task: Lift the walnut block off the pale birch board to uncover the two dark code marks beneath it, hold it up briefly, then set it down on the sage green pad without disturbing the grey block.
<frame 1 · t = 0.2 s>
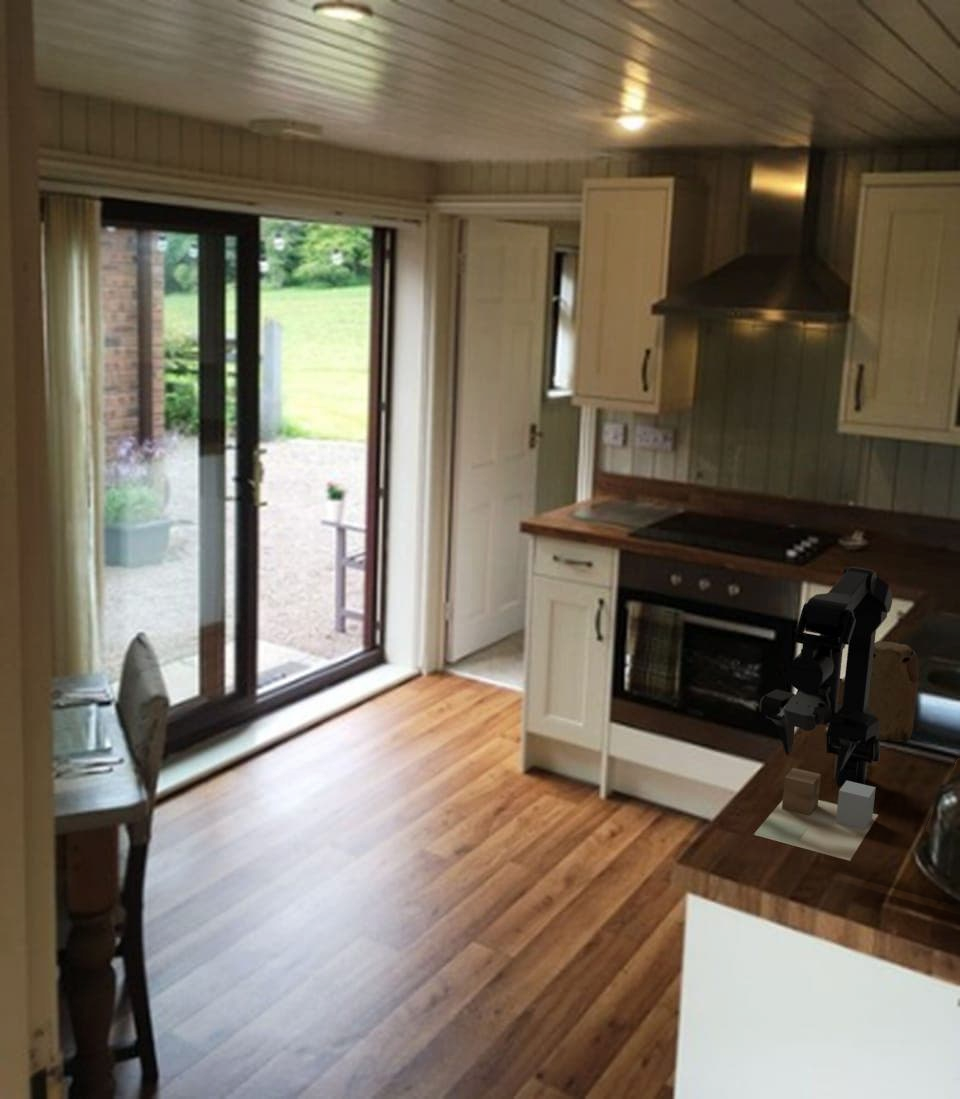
hand: (813, 762, 190), 14 cm above the worktop, tool pointing down, fingers open, 9 cm apart
walnut block: (799, 807, 203), point 1 cm above the worktop, touching code board
code board: (816, 829, 197), on the worktop
block: (884, 736, 240), on the worktop
grey block: (854, 820, 198), point 1 cm above the worktop, touching code board
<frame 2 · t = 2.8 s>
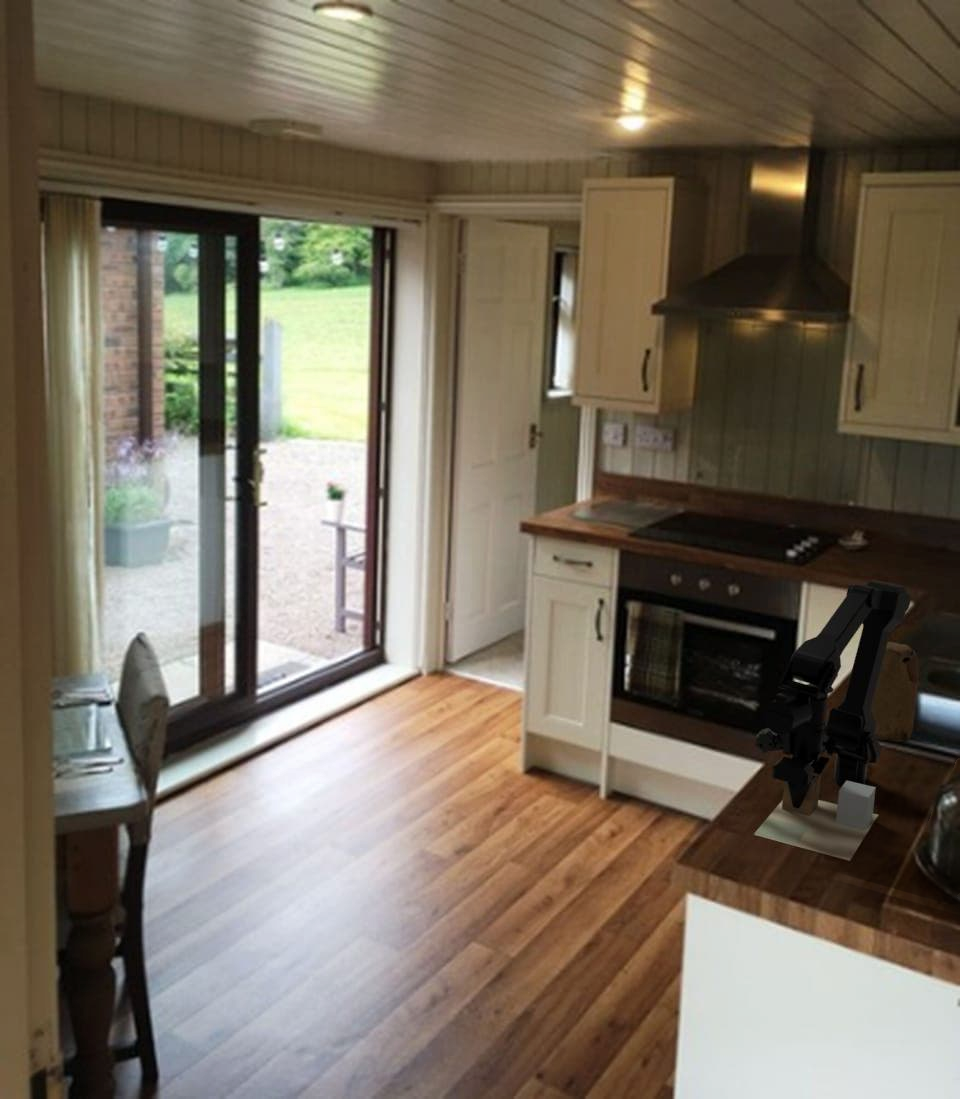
hand: (800, 802, 203), 2 cm above the worktop, tool pointing down, fingers closed on walnut block, 5 cm apart
walnut block: (799, 806, 203), point 1 cm above the worktop, touching code board, gripper
everything else where it was.
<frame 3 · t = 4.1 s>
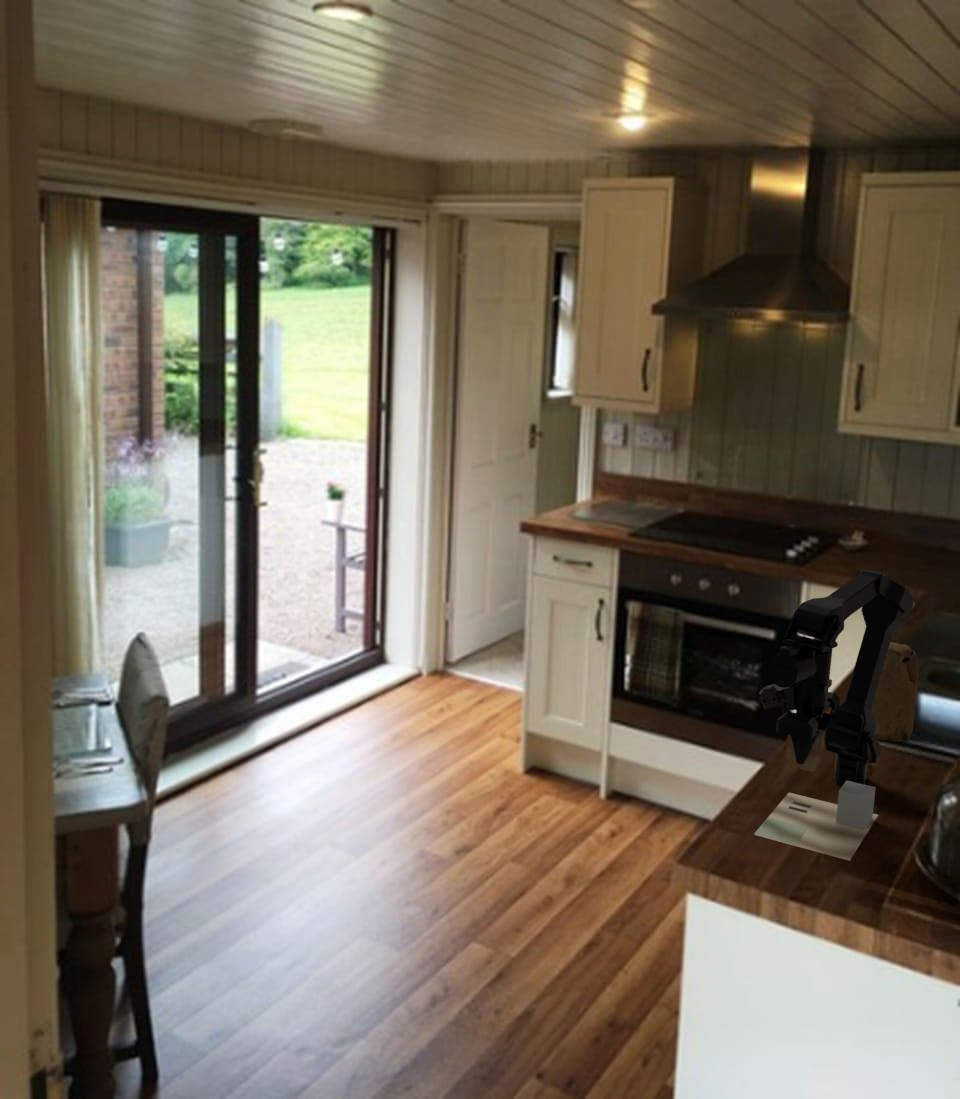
hand: (804, 758, 201), 10 cm above the worktop, tool pointing down, fingers closed on walnut block, 5 cm apart
walnut block: (803, 763, 201), point 9 cm above the worktop, touching gripper
everything else where it was.
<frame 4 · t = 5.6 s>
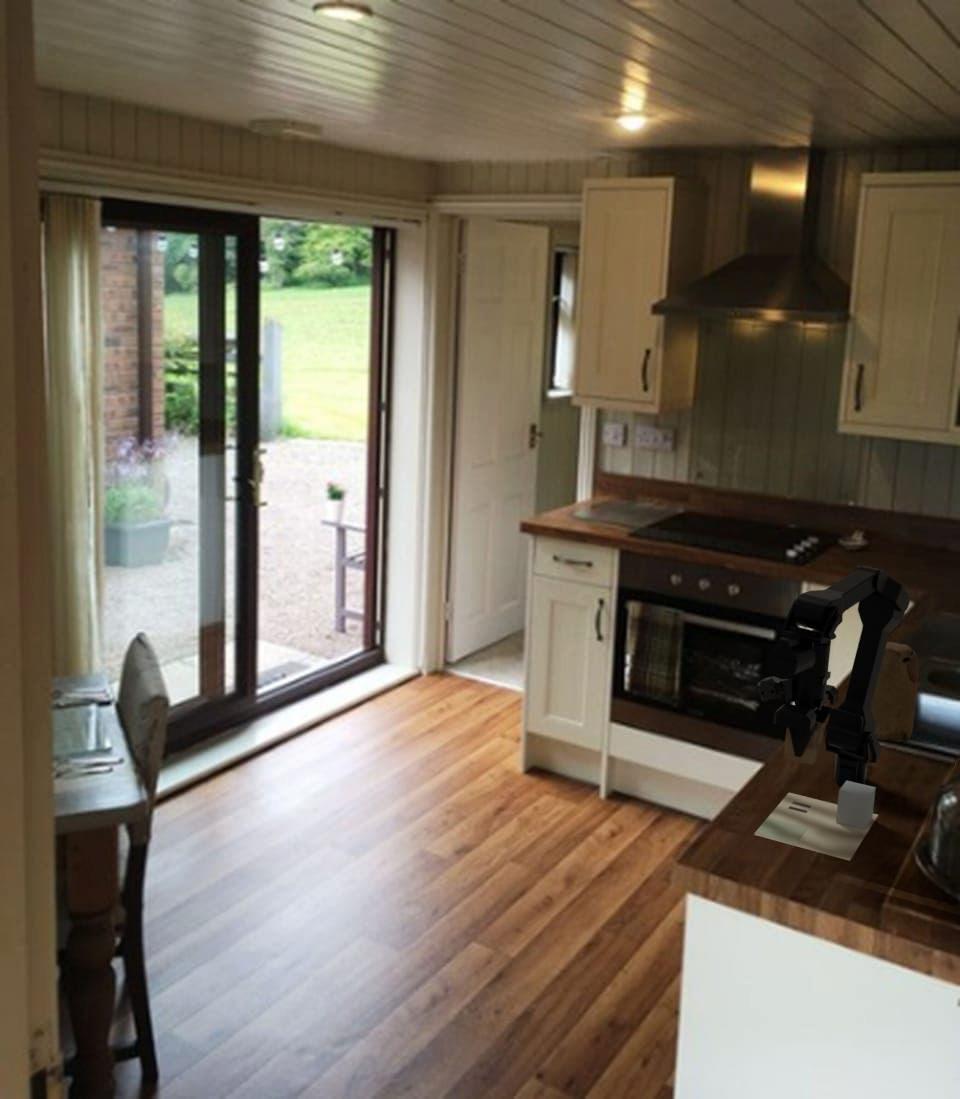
hand: (802, 751, 199), 12 cm above the worktop, tool pointing down, fingers closed on walnut block, 5 cm apart
walnut block: (801, 756, 199), point 11 cm above the worktop, touching gripper
everything else where it was.
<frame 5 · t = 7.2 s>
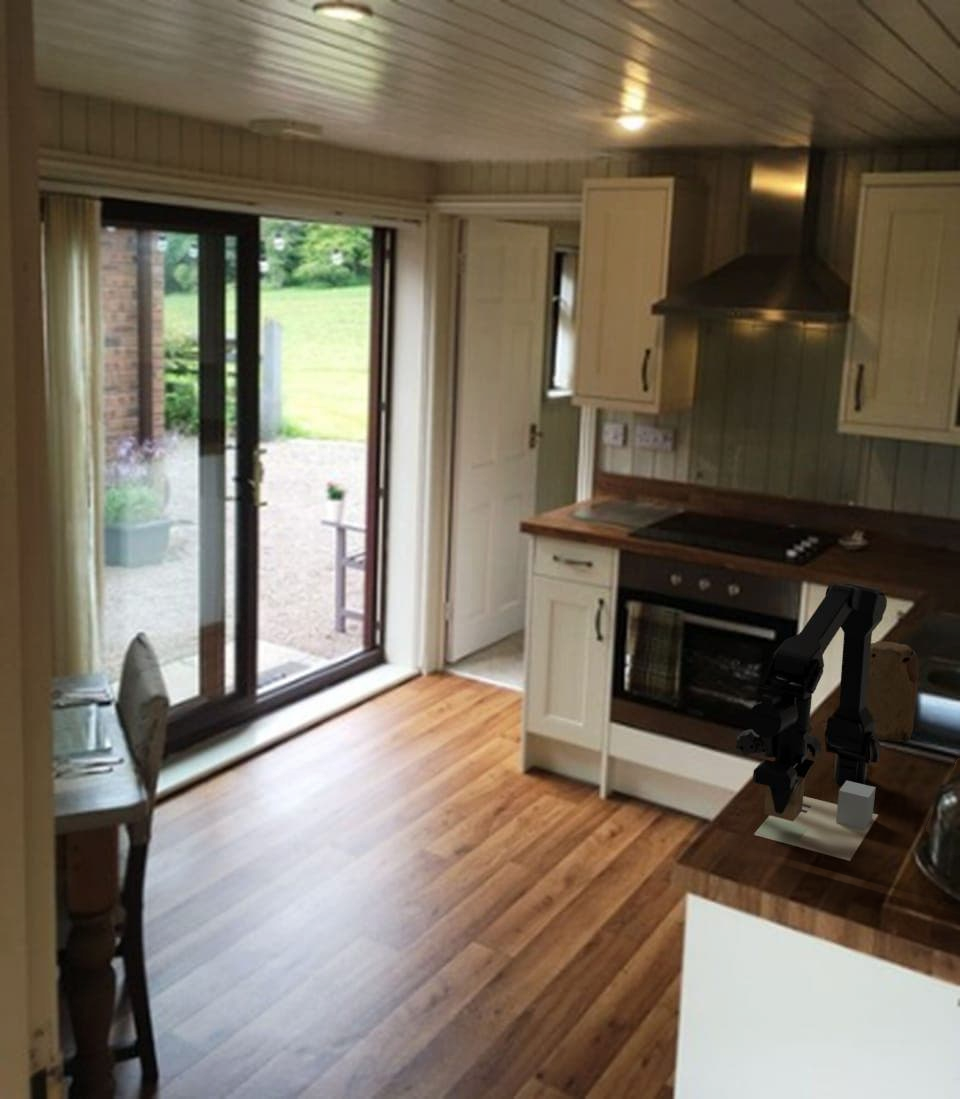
hand: (783, 807, 193), 5 cm above the worktop, tool pointing down, fingers closed on walnut block, 5 cm apart
walnut block: (782, 812, 193), point 4 cm above the worktop, touching gripper
everything else where it was.
when the fingers open (3 cm above the worktop, at t = 8.3 s): walnut block drops 1 cm, resting on code board.
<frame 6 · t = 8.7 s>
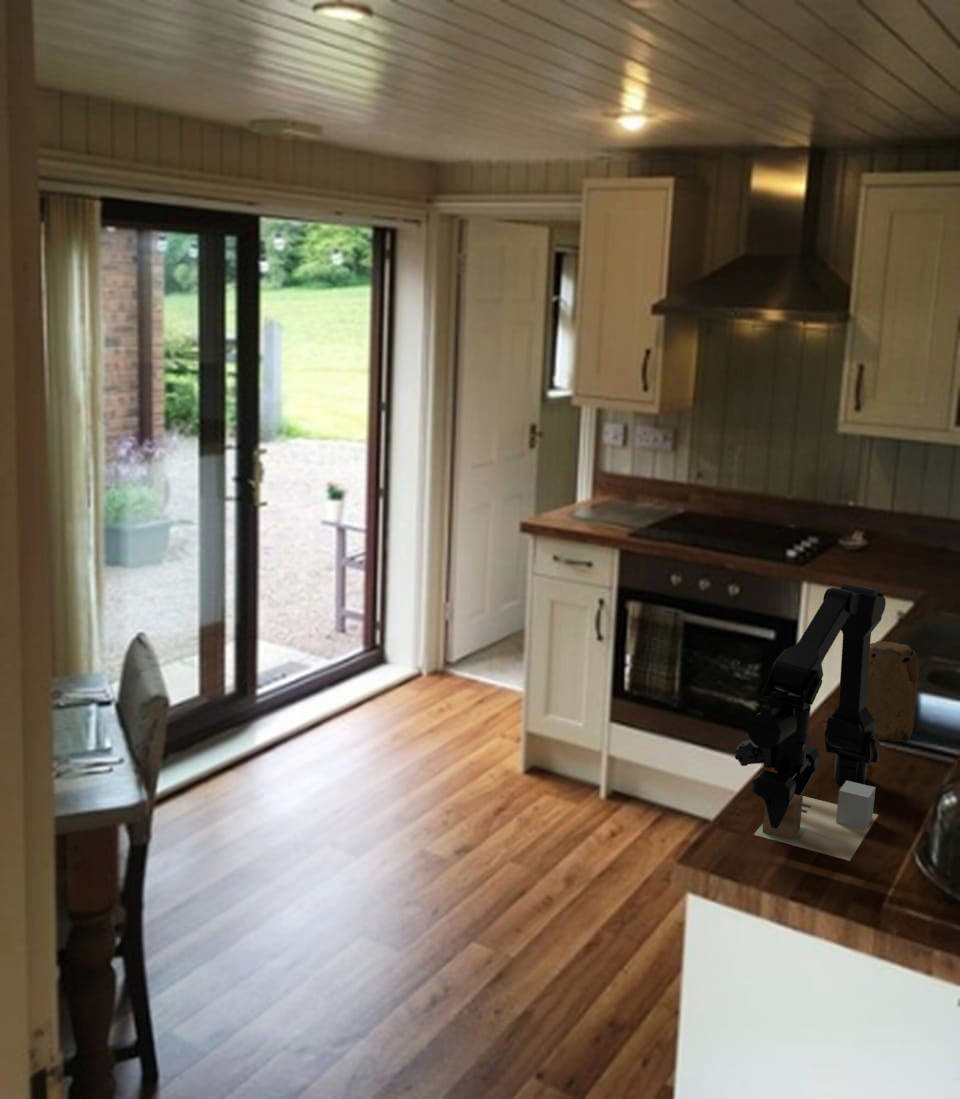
hand: (782, 817, 193), 3 cm above the worktop, tool pointing down, fingers open, 9 cm apart
walnut block: (781, 830, 194), point 1 cm above the worktop, touching code board
everything else where it was.
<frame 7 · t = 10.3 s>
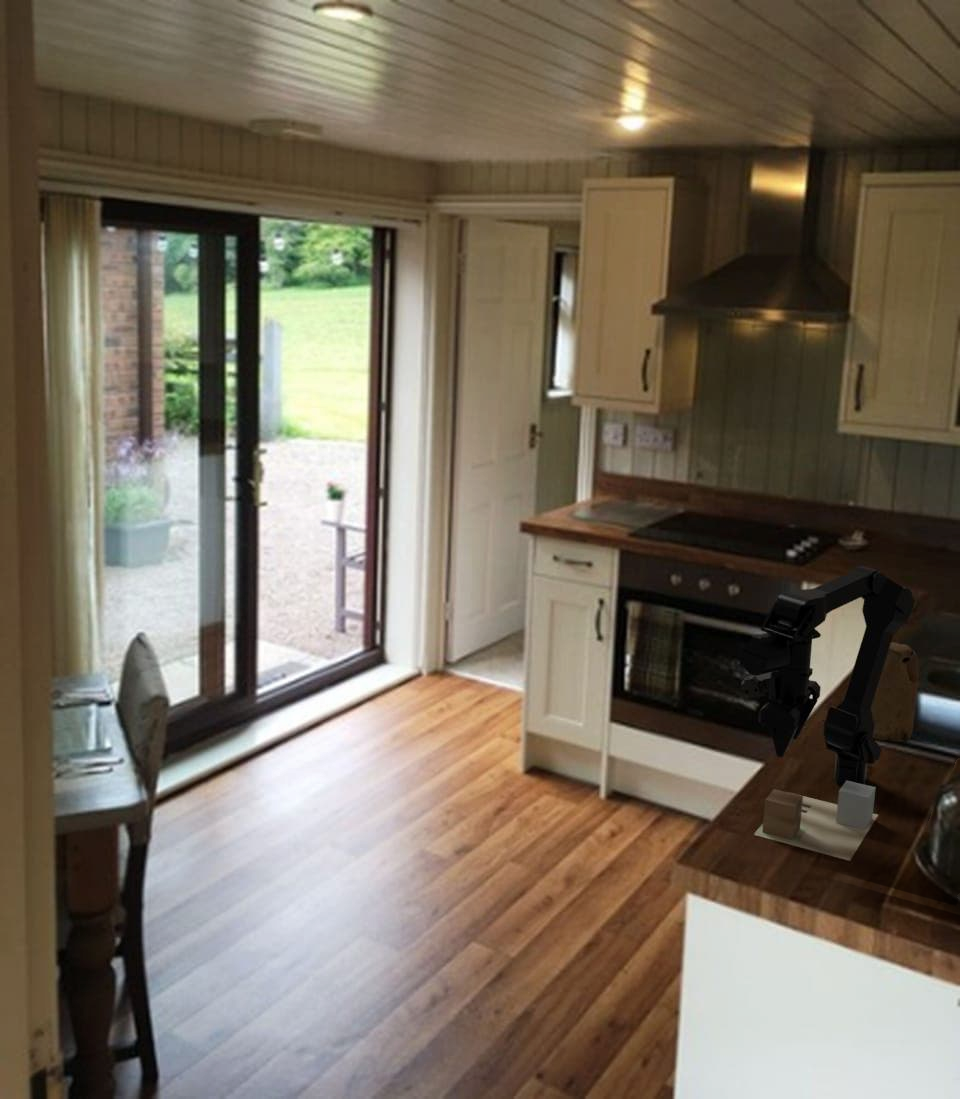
hand: (786, 747, 202), 12 cm above the worktop, tool pointing down, fingers open, 9 cm apart
nothing on the worktop moved.
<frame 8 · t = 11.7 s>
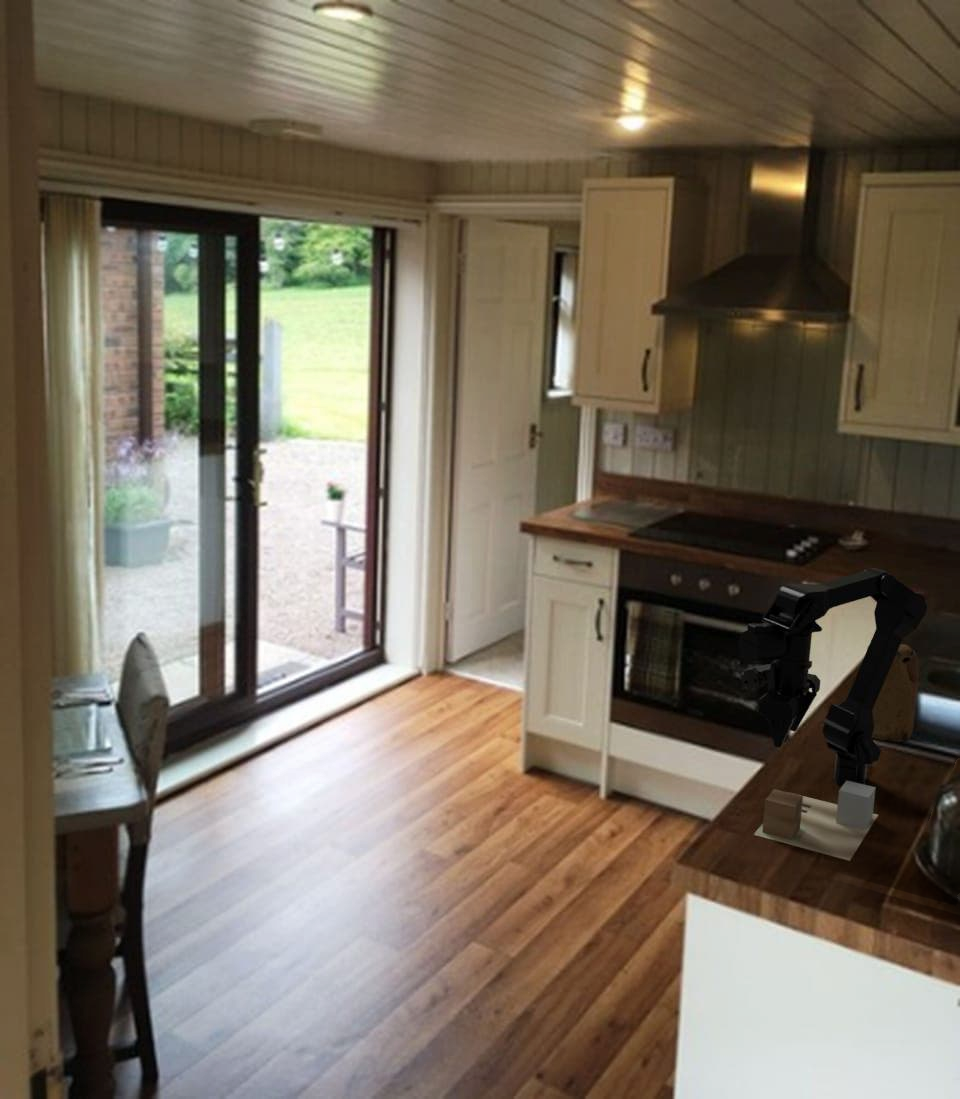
hand: (785, 738, 205), 12 cm above the worktop, tool pointing down, fingers open, 9 cm apart
nothing on the worktop moved.
at the end: walnut block 0.1 cm from the target spot on the code board, point 1.0 cm above the code board's base; walnut block tilted 0°; grey block moved 0.0 cm from its start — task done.
